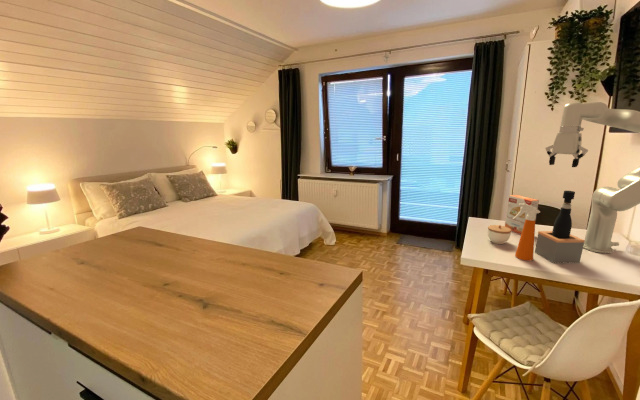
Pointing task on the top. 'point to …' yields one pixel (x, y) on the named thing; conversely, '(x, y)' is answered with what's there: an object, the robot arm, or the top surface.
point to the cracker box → (514, 209)
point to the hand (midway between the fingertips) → (562, 165)
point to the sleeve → (559, 248)
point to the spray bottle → (527, 233)
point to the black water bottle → (564, 218)
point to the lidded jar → (498, 234)
